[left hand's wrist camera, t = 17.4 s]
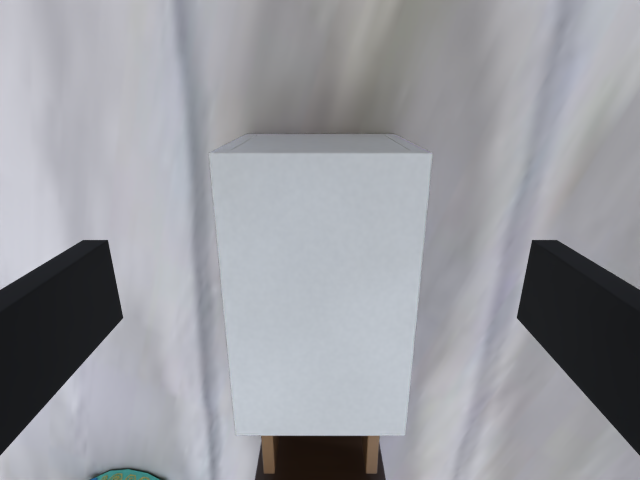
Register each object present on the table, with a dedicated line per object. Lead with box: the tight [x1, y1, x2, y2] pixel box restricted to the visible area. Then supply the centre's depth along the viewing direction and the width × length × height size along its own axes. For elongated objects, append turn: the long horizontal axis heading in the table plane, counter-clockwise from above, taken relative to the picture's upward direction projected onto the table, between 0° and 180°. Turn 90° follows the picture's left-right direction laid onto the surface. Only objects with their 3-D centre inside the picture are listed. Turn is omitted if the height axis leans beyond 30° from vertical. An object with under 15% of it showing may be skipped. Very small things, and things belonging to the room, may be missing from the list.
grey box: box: [208, 134, 433, 436], centre depth 27 cm, size 18×11×10 cm, turn 0°
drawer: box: [255, 436, 386, 480], centre depth 30 cm, size 22×10×8 cm, turn 0°
